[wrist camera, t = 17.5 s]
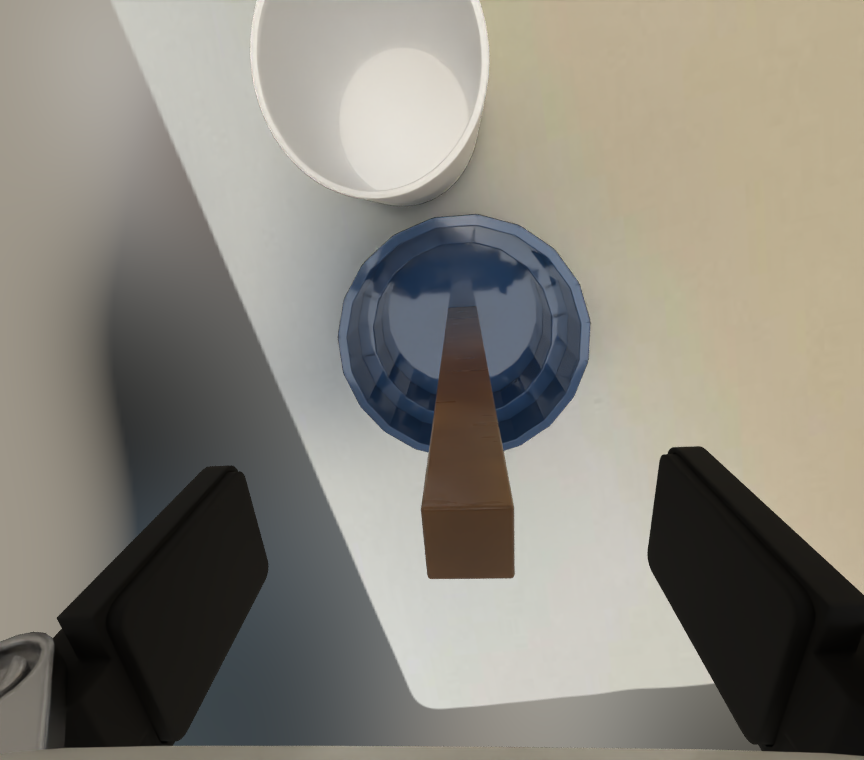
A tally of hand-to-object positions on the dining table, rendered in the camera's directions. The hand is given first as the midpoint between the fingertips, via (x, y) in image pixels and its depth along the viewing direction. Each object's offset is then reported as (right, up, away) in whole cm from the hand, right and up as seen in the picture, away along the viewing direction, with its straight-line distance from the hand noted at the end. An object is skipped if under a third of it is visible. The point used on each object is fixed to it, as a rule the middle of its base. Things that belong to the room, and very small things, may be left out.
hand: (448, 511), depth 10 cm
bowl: (+2, +7, +18) cm, 19 cm away
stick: (+2, +7, +18) cm, 19 cm away
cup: (-2, +19, +14) cm, 24 cm away
